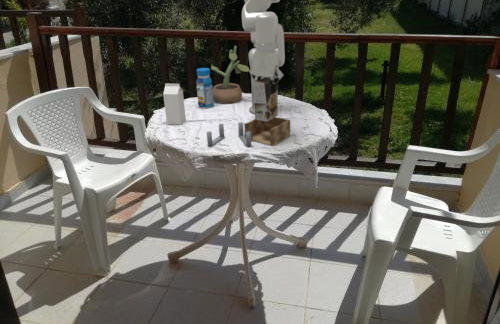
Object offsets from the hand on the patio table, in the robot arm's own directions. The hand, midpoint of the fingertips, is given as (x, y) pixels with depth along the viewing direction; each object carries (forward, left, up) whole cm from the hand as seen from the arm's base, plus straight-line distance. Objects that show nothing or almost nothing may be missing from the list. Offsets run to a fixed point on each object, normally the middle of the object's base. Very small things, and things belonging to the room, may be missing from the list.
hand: (266, 91), depth 174 cm
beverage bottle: (-21, -54, -21) cm, 62 cm away
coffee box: (0, 0, -11) cm, 11 cm away
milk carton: (+6, -49, -21) cm, 54 cm away
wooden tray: (0, 0, -20) cm, 20 cm away
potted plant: (-36, -49, -21) cm, 64 cm away
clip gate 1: (+15, -16, -20) cm, 30 cm away
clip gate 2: (+8, -6, -20) cm, 23 cm away
